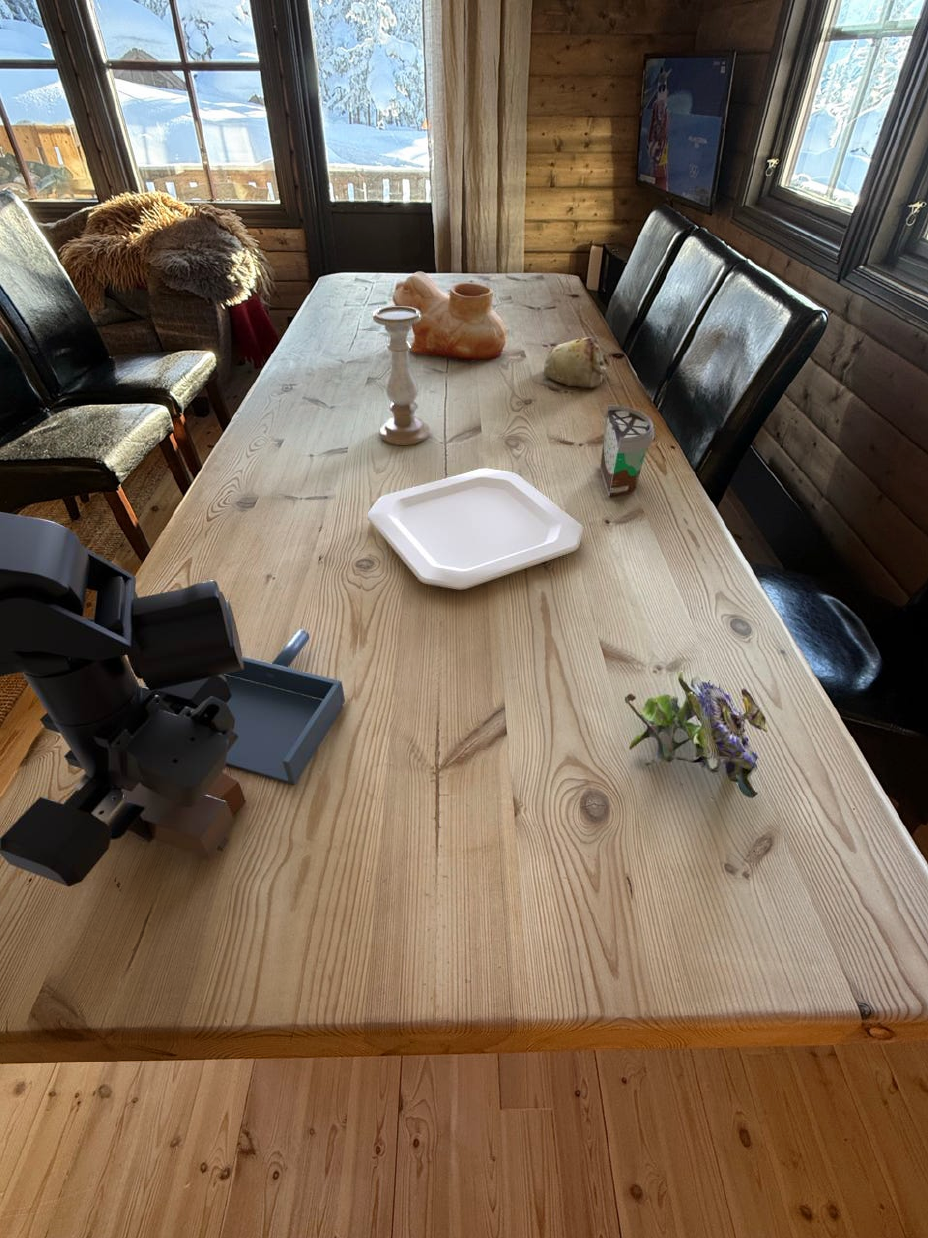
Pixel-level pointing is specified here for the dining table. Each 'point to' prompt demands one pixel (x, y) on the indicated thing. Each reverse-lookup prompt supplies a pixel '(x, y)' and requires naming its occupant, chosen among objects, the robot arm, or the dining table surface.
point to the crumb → (227, 791)
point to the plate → (473, 528)
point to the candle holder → (401, 378)
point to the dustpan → (280, 714)
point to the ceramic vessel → (452, 319)
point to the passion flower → (704, 729)
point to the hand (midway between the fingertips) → (162, 819)
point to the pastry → (576, 363)
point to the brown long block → (185, 821)
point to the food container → (624, 448)
